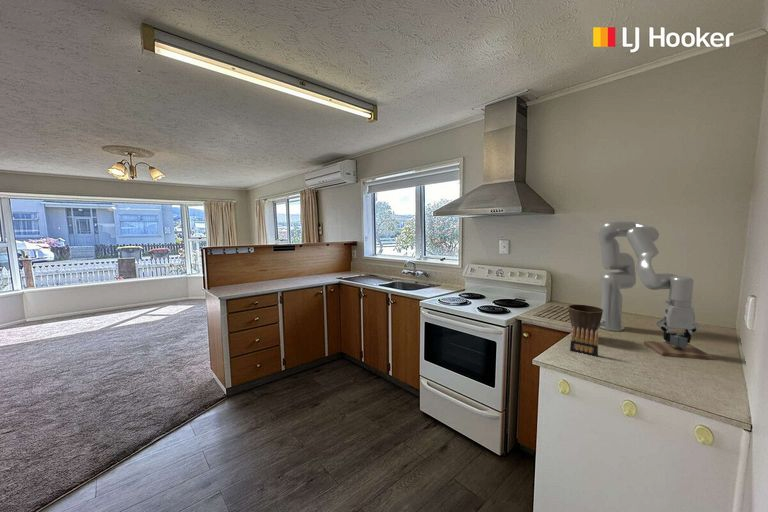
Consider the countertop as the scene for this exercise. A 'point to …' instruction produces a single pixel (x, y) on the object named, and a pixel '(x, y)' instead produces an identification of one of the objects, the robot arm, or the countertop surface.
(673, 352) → the base plate
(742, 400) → the countertop surface
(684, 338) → the steel ring
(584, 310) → the plant pot
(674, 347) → the silver egg
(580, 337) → the ammunition clip
